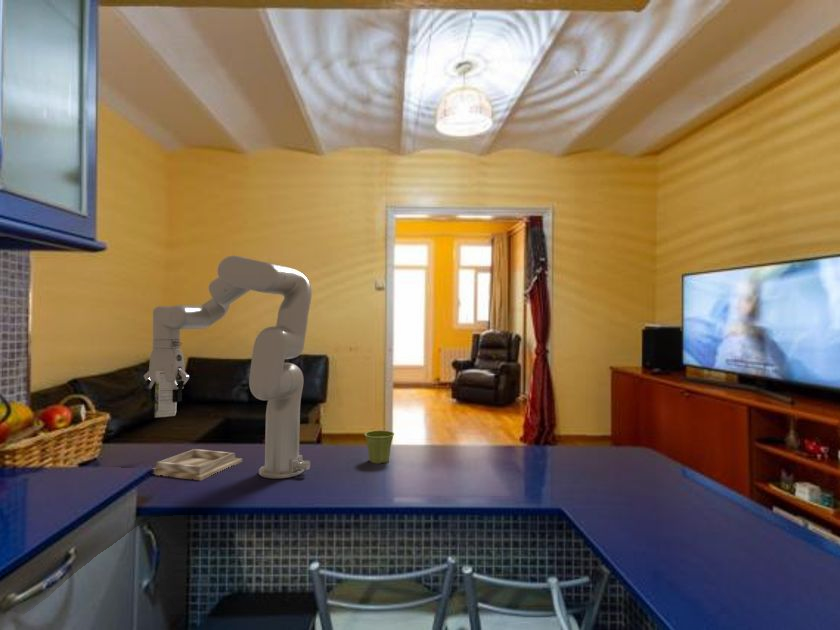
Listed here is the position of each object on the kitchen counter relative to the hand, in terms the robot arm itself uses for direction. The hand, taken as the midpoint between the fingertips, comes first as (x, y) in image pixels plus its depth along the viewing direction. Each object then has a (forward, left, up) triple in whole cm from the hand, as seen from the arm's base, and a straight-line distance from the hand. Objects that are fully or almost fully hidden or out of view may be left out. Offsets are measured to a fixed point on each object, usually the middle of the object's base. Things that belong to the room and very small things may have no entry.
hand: (166, 401), depth 146 cm
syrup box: (0, 0, -5) cm, 5 cm away
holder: (-15, +4, -18) cm, 24 cm away
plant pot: (-64, -19, -18) cm, 70 cm away
